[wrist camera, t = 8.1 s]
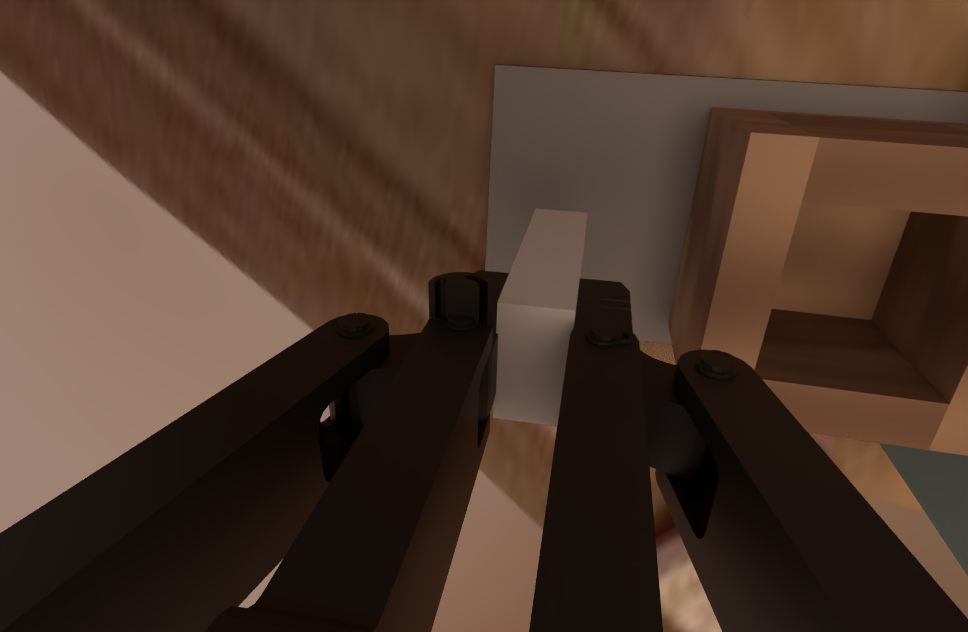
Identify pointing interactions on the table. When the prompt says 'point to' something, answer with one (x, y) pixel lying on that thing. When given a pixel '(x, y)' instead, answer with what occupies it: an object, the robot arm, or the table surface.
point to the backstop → (668, 193)
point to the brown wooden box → (835, 269)
